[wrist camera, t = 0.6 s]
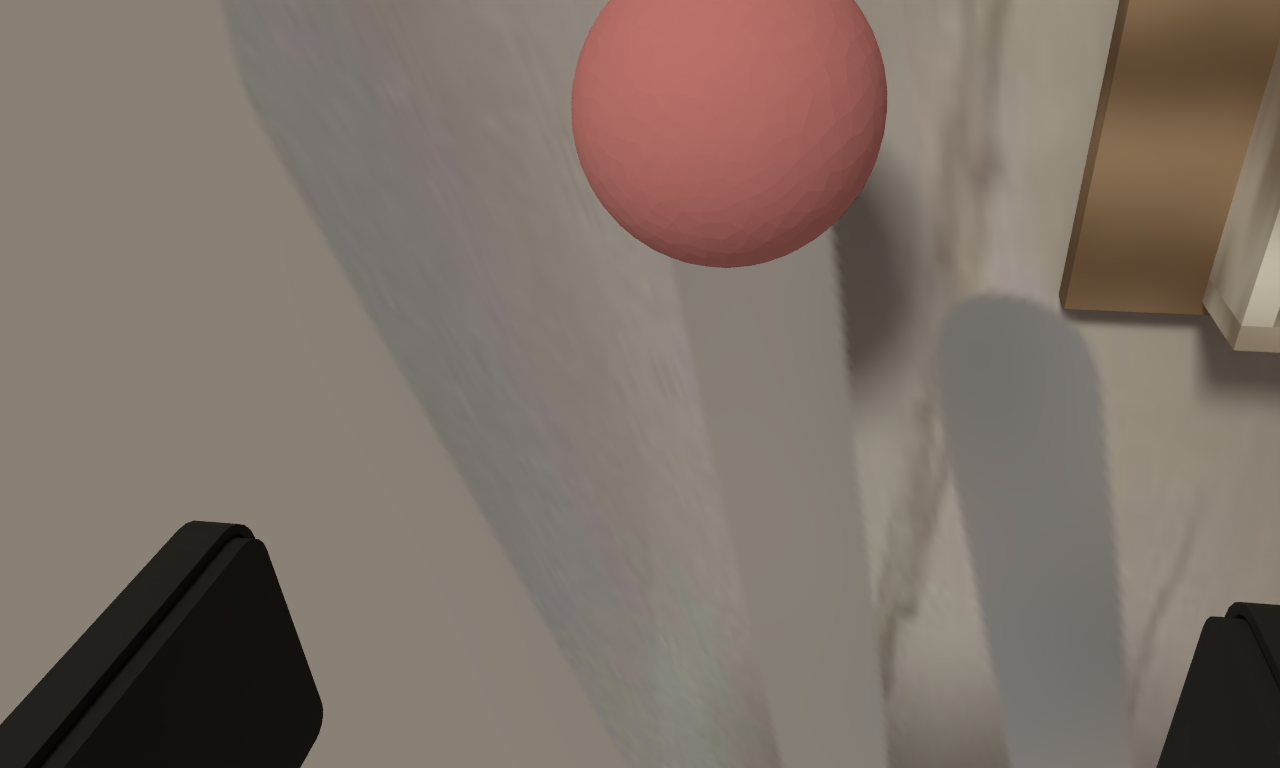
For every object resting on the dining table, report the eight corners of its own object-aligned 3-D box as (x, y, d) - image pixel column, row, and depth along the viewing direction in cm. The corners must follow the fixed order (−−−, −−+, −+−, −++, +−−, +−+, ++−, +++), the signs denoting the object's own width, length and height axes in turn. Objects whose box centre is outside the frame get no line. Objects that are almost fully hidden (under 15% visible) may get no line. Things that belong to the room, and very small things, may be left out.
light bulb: (600, -18, 29) (465, 92, 19) (813, -157, 26) (785, -112, 16) (714, 181, 32) (647, 368, 22) (919, 76, 29) (951, 237, 19)
